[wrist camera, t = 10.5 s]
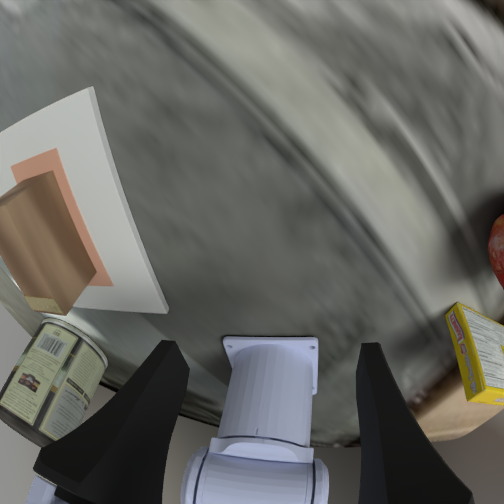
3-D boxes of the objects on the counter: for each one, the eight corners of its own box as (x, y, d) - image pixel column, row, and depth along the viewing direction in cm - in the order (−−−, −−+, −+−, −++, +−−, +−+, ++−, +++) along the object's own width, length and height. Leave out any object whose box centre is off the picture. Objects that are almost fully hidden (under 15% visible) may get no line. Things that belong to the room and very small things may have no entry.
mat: (169, 308, 25) (166, 314, 24) (57, 301, 28) (54, 305, 27) (93, 86, 15) (86, 88, 14) (-16, 143, 18) (-22, 146, 17)
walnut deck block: (53, 170, 18) (4, 205, 14) (96, 271, 23) (65, 316, 19) (22, 180, 18) (-22, 214, 14) (65, 271, 24) (34, 312, 20)
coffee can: (72, 365, 37) (33, 444, 26) (30, 315, 31) (-23, 400, 20) (123, 374, 34) (84, 469, 23) (78, 318, 29) (17, 426, 18)
